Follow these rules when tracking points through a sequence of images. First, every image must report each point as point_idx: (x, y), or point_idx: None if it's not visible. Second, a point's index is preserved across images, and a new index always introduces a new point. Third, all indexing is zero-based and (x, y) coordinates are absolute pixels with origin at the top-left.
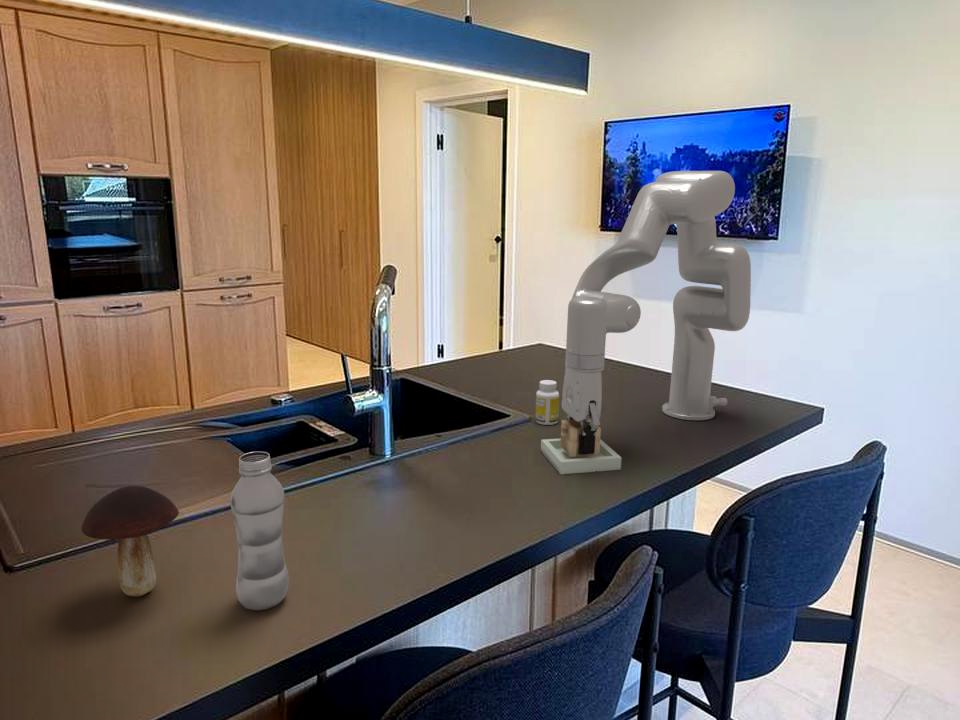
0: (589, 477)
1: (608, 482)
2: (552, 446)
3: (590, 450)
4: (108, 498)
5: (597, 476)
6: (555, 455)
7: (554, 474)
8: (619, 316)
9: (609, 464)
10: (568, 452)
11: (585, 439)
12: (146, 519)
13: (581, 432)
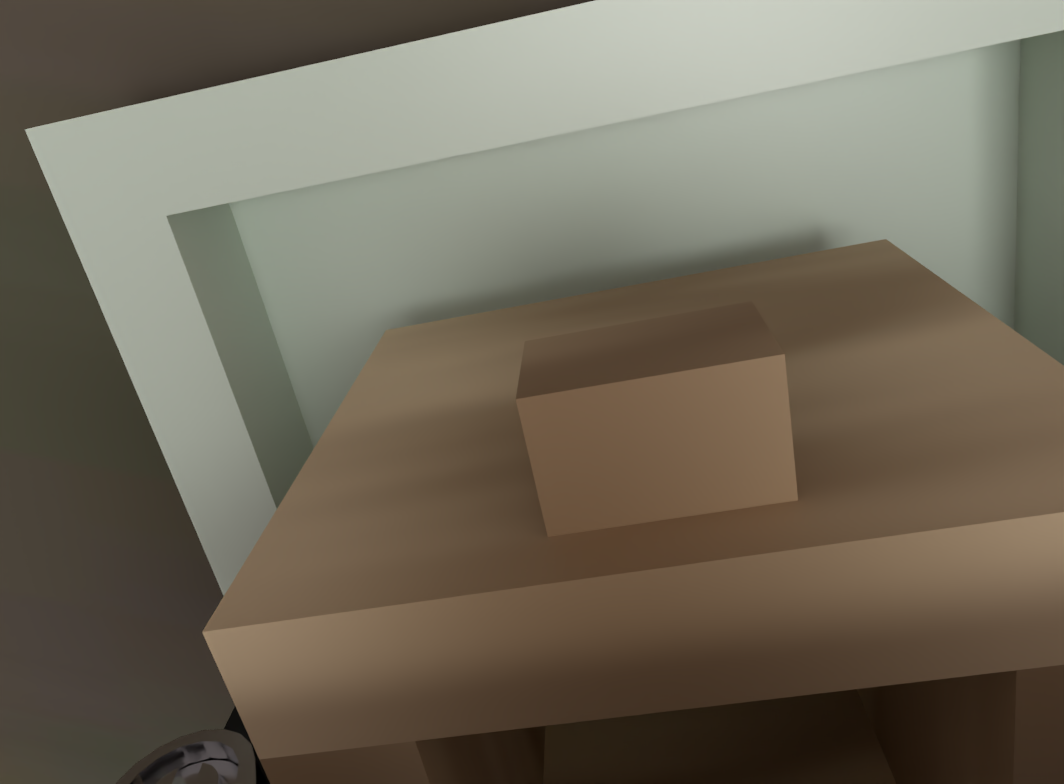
0: (122, 448)
1: (35, 601)
2: (796, 69)
3: None
4: None
5: (169, 533)
6: (329, 66)
7: (122, 12)
8: None
9: None
10: (485, 321)
11: (231, 729)
12: None
13: (237, 781)
